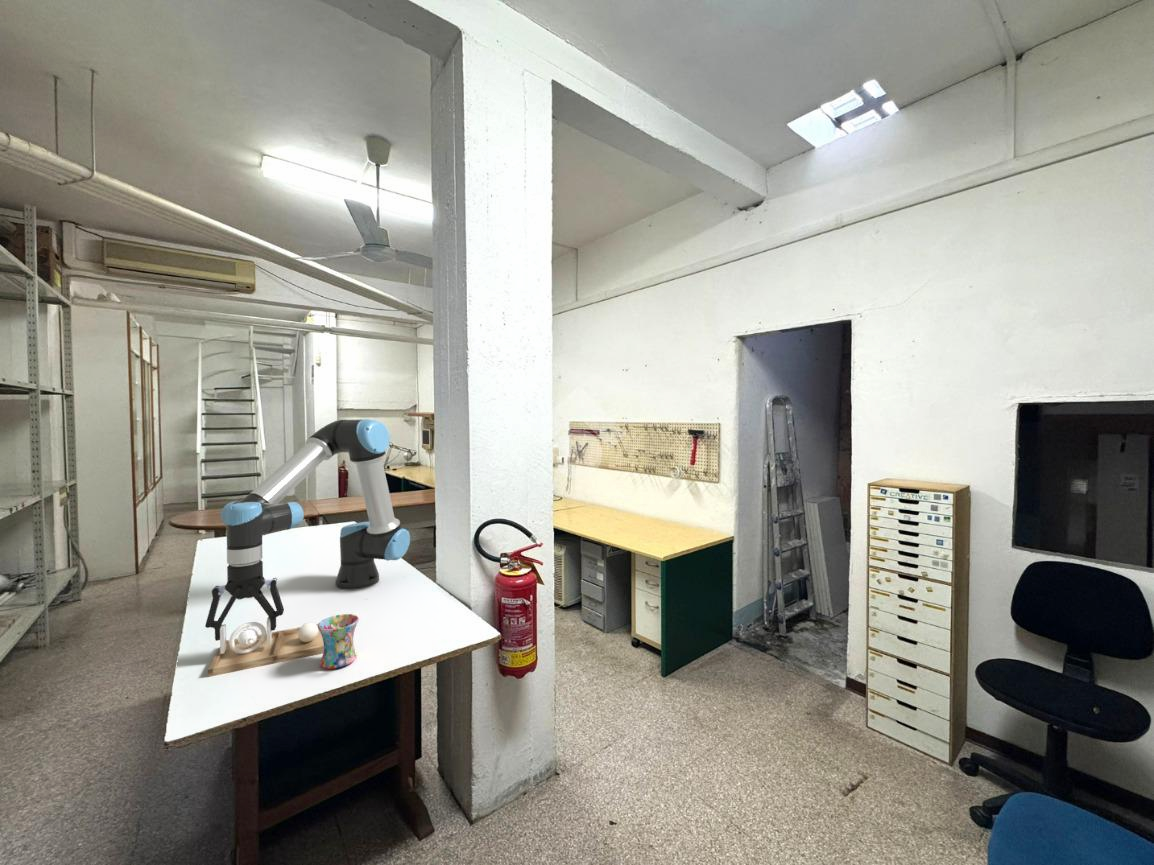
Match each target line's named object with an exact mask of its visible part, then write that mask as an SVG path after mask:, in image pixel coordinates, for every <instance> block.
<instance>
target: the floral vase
mask: <svg viewBox="0 0 1154 865" xmlns="http://www.w3.org/2000/svg"><path fill="white" fill-rule="evenodd" d="M358 622H359V617H358V616H357V615H356V614H352V613H351V614H350V613H342V614H341V613H340V614H335V615H332V616H330V617H326V618H324V619H322V620H321V621H320V622H318V623H317V624H318V629H319V631H320V633H321V635H322V638H323V643H324V652H323V654H322V657H321V659H320V661H319V665H320V666H321V667H322V668H323V669H329V670H331V669H333V670H335V669H339V668H342V667H346V666H348V665H351V664H352V663H353V662H354V661H355V660H356V659H357V657H358V653H357V651H356V649H355V646H354V645H355V644H354V637H355V636H354V635H355V629H356V627H357V624H358Z"/></svg>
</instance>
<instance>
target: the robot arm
mask: <svg viewBox="0 0 1154 865" xmlns="http://www.w3.org/2000/svg"><path fill="white" fill-rule="evenodd" d="M390 439H391V436H390V432H389V430H388V428H387V427H386V425H385V424H383V423H382V422H380V421H379V420H376V419H369V418H368V419H367V418H365V419H338V420H334V421H333V422H330V423H328V424H326V425H325V426H323V427H321V428H320V429H318V430H317V431H316V432H314V433H313V434H312V435H311V436H309V437H308V438H307V439H306V440H305V445H304V446H303V447H301V449H299V450H298V451H296V452H295V453H294V454H293V455H292V456H291V457H290V458H288V460H287V461H285V462H284V463H283V464H282V465H281V466H280V467H279V468H277V469H276V470H275V471H274V472H273V473H272V474H270V475H269V476H268V477H267V478H265V480H264V481H262V482H261V483H260V484H259V485H258V486H257V487H256V488H254V489H253V490H252V491H251V492H250V493H249V494H248V495H246V496H245V497H244V498H243V499H242V500H235V501H231V502H229V503H226V504H225V505H224V507H223V508H222V510H221V512H220V519H221V522H222V523H223V524H224V525H225V529H226V531H225V532H226V563H227V564H228V565H227V567H226V571H227V579H226V580H227V582H226V584H225V585H221V586H220V585H215V586H214V587H213V589H211V596H212V600H211V604H210V608H209V611H208V615H207V619H206V621H205V625H204V626H205V628H207V629H209V628H212V629H214V640H215V641H219V642H220V643H219V648H220V654H223V653H225V650H226V641H227V624H226V623H224V624H223V622H224V621H225V618H227V616H228V614H229V612H230V610H231V609H232V607H233V605H234V603H235V602H236V600H238V601H239V600H243V599H252V598H254V600H255V601H257V603H258V604H259V605H260V607H261V608H262V610H264V612H265V614H266V616H268V617H267V619H266V633H267V645H270V644H271V641H272V632H274V631H275V630H276V627H277V618H278V617H279V616H282V615H283V614H284V612H285V607H284V606H283V602H282V599H281V595H280V593H279V589H278V586H277V584H278V578H276V577H274V578H270V579H268V578H267V579H266V578H265V577H264V573H263V572H264V567H263V566H264V562H263V560H262V559H263V558H264V557H263V536H266V535H271V534H274V533H278V532H283V531H286V530H287V531H288V530H291V529H293V528H296V527H298V526H300V525H302V523H303V520H304V517H305V516H304V514H305V513H304V508H303V507H302V506H301V504H299V503H298V502H295V501H290V502H284V503H280V502H281V501H282V500H283V499H284V498H285V497H287V495H289V493H291V492H292V491H293V489H295V488H296V487H297V486H298V485H299V484H300V483H301V482H302V481H303V480H305V478H306V477H308V476H309V475H310V473H311V474H312V472H313V471H314V470H315V469H316V468H317V467H318V466H319V465H320V464H321V463H323V462H324V461H328V460H330V459H331V458H333V456H335V455H337V454H340V453H347V454H348V457H349V460H350V462H351V463H353V464H355V465H356V469H357V473H358V480H359V483H360V486H361V491H362V494H363V495H362V496H363V500H364V504H365V508H366V513H367V517H368V521H363V522H362V521H361V522H356V523H355V522H354V523H350V524H347V525H344V526H343V527H341V529H340V535H339V549H340V550H339V552H340V565H339V566H340V567H339V570H338V572H337V576H336V578H335V587H336V588H337V589H340V590H357V589H364V588H368V587H371V586H373V585H375V584H377V583H378V582H380V573H379V571H378V568H377V566H376V563H375V560H385V561H387V562H388V561H398V560H400V559H402V558H403V557H404V556H405V555H406V553H407V552H408V549H409V546H410V543H411V533H410V532H409V530H407V529H405V528H402V525H401V521H400V519H398V518H396V517H395V514H394V509H393V504H392V498H391V494H390V489H389V485H388V480H387V477H386V471H385V467H384V461H383V459H384V457H385V455H386V453H387V452H386V451H387V450H388V449H389V446H390V445H389V443H390V442H391V440H390ZM264 585H266V587H267V588H268V589H269V591H270V594H271V597H272V601H273V604H274V607H275V609H276V610H275V609H274V608H273V606H272V605H271V603H270V602H269V601H268V600H267V598H266V596H265V595H264V593H263V591H262V588H263V586H264ZM225 591H226V592H227V593H229V594H230V595H231V596H230V598H229V600H228V602H227V603H226V605H225V607H224V609H223V610H222V612H221V614H220V615H219V618H218V619H217V620H215V618H216V615H217V611H218V606H219V603H220V599H221V596H222V595H223V594H224V592H225Z"/></svg>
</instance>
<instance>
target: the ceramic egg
mask: <svg viewBox="0 0 1154 865" xmlns="http://www.w3.org/2000/svg"><path fill="white" fill-rule="evenodd" d="M318 632H319V629H318V626H317V625H316V623H314V622H307V623H304V624H303V625H301V626H300V629H299V631H298V637H299V639H300V640H301V641H303V642H310V641H312V640H314V639H315V638H316V637H317V635H318Z"/></svg>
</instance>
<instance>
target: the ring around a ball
mask: <svg viewBox="0 0 1154 865" xmlns="http://www.w3.org/2000/svg"><path fill="white" fill-rule="evenodd" d="M250 627H256V628H258V629H259V630H260V634H261V638H260V639H258V635H259V633H258V631H257V630H256V629H253V628H250ZM245 628H246V629H245ZM242 630H243V631H242ZM240 631H241V632H240ZM239 632H240V634H239V635H238V633H239ZM266 633H267V628H266V626H264V624H262V623H260V622H257V621H250V622H246V623H243V624H241V625H239V626H238V627H236V629H235V630H234V631H233V632H232V633H231V635H230V637H229V639H228V640H229V645H230V648H231V649H232V650H233V651H234V652H236V653H239V654H245V653H249V652H252V651H254V650H256V649H257V648H258V647H259V646H260V645H261V644H262V643H263V642H264V640H265V637H266ZM237 635H238V637H237V639H238V643H239V644H238V645H237V646H239V645H241V646H243V647H248V646H251V645H253V644H254V643H255V642H256V641H257V640H259V642H258V643H257V644H256V645H255V646H253V647H251V648H249V649H239V648H237V646H235V644H234V639H236V636H237Z"/></svg>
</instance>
